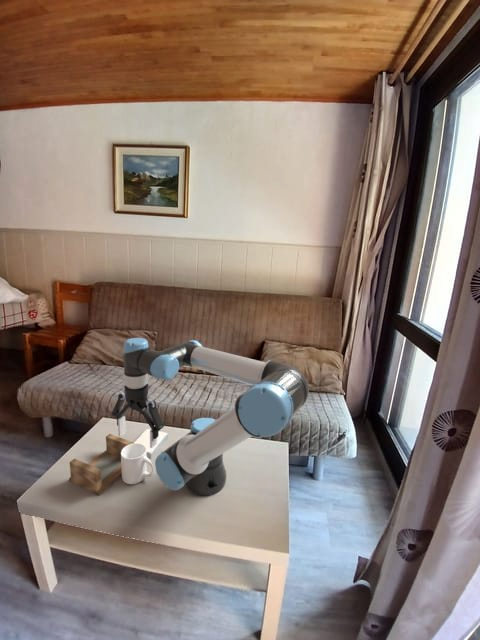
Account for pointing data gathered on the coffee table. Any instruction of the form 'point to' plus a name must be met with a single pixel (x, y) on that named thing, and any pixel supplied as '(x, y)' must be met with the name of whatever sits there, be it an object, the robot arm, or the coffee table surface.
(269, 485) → the coffee table surface
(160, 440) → the white rectangular block
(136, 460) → the mug
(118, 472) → the cradle
